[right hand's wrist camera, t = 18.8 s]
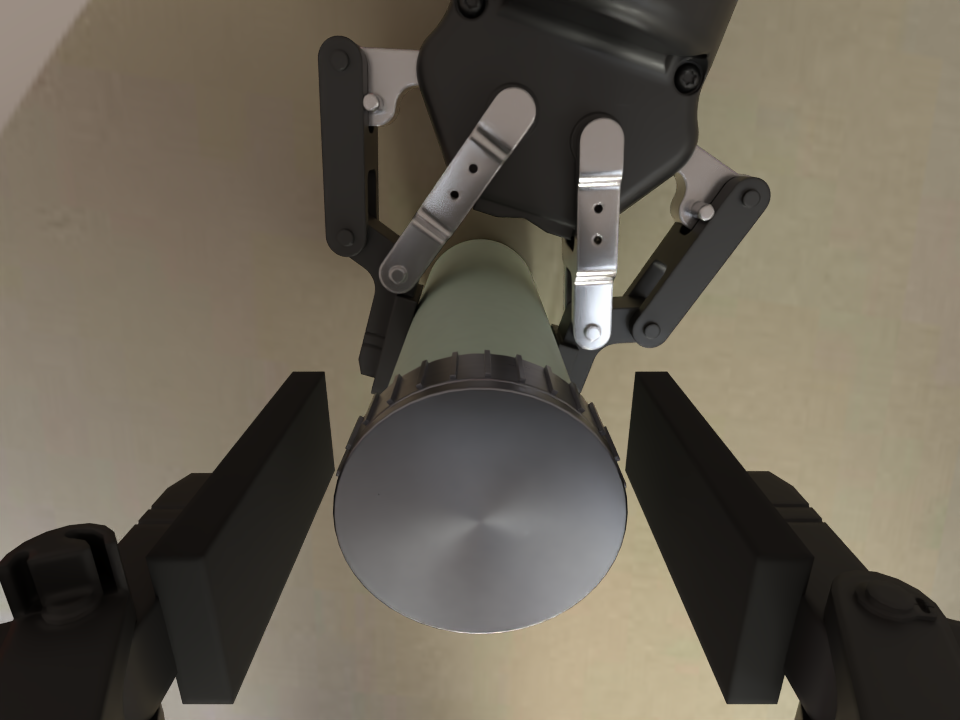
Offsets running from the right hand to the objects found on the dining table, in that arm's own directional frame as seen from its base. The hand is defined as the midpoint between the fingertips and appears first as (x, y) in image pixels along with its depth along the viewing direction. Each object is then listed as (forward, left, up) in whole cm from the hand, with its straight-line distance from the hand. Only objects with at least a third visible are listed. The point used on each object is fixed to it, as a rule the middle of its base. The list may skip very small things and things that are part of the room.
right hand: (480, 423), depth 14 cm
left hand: (-1, +2, -6) cm, 7 cm away
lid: (0, 0, +4) cm, 4 cm away
